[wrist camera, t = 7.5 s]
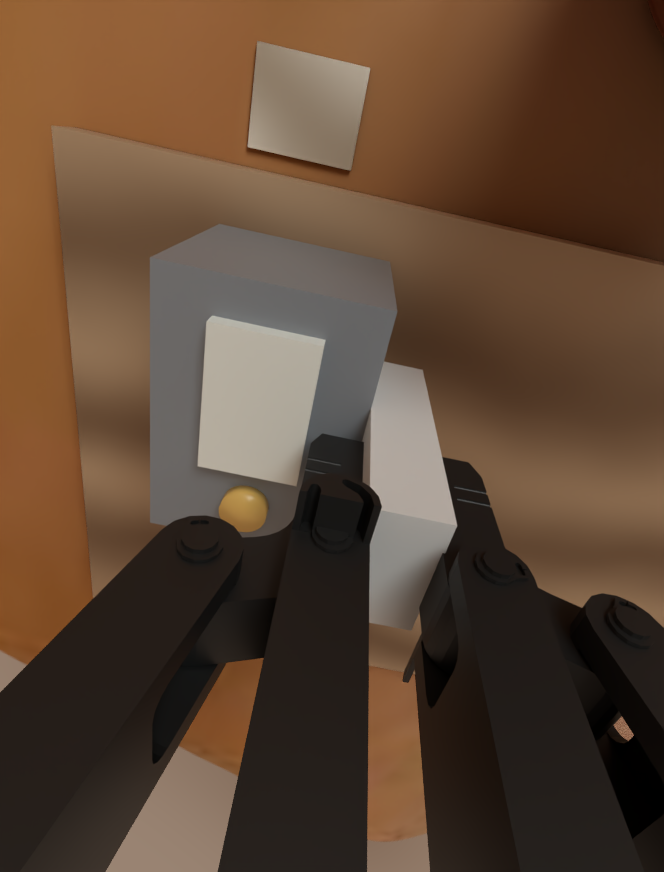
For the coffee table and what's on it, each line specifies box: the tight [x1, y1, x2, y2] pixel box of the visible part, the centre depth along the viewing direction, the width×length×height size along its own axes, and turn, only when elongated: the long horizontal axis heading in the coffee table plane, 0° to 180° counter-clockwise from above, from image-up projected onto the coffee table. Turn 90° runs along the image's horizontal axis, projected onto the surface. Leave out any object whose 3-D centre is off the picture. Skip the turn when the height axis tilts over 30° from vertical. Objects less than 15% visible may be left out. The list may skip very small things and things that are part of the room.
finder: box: [150, 224, 397, 537], centre depth 13 cm, size 7×5×5 cm
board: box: [51, 41, 664, 674], centre depth 18 cm, size 23×28×1 cm
